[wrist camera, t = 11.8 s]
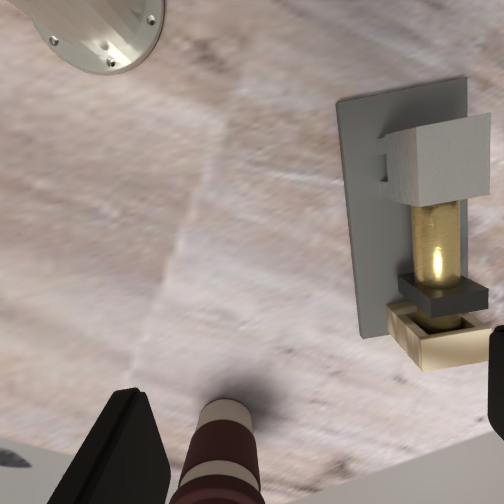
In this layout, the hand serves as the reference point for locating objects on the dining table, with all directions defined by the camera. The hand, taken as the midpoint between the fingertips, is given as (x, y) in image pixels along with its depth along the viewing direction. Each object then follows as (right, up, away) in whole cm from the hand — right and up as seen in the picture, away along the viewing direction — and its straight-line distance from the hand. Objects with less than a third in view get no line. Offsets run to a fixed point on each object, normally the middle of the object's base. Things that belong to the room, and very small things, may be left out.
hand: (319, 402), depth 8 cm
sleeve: (+15, +14, +26) cm, 33 cm away
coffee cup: (-5, -19, +35) cm, 40 cm away
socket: (+18, -3, +30) cm, 35 cm away
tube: (+16, +4, +25) cm, 31 cm away
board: (+16, +8, +27) cm, 33 cm away
